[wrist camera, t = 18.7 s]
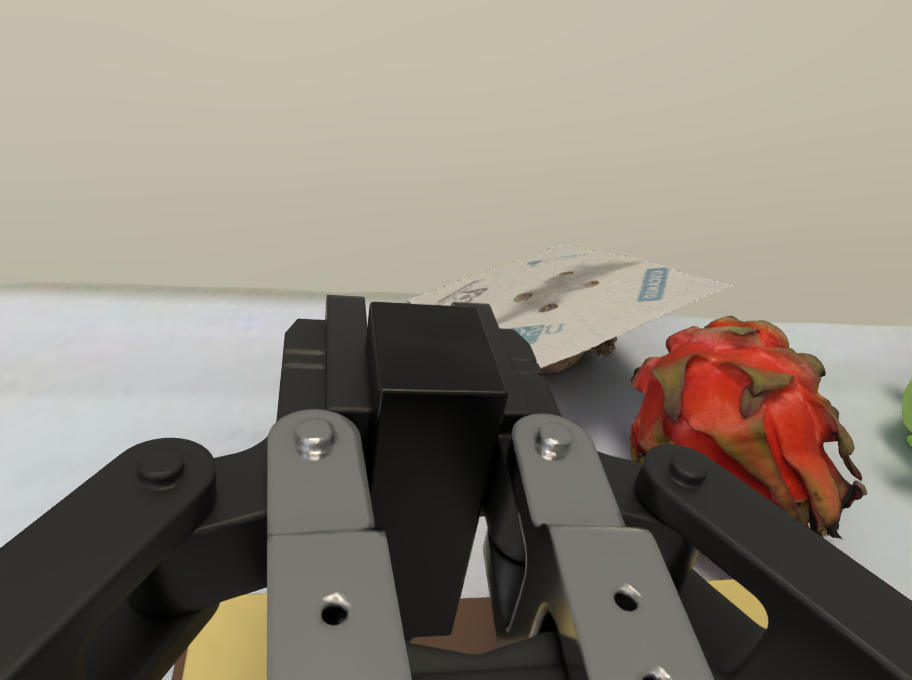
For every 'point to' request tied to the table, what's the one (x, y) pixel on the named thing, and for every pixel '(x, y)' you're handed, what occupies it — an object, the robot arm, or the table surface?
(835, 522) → the dragon fruit
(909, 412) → the teapot
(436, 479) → the knife
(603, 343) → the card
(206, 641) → the butter slice
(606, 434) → the table surface
